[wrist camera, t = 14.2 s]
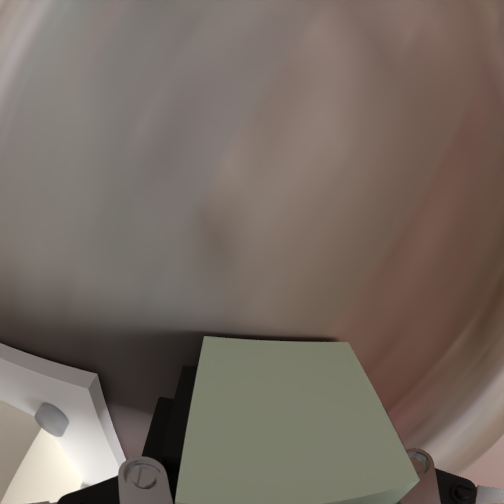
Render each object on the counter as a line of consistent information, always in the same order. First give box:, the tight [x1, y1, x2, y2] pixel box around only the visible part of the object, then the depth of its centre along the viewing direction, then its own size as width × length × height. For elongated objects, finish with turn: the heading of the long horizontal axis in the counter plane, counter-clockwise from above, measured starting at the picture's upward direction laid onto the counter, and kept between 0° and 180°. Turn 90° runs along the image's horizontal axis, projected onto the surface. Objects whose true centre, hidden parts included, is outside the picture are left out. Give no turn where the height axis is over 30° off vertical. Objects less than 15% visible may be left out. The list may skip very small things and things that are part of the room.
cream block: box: [0, 400, 83, 504], centre depth 8 cm, size 6×6×6 cm
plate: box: [0, 343, 126, 490], centre depth 11 cm, size 14×14×2 cm
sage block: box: [175, 336, 420, 504], centre depth 7 cm, size 5×5×6 cm
